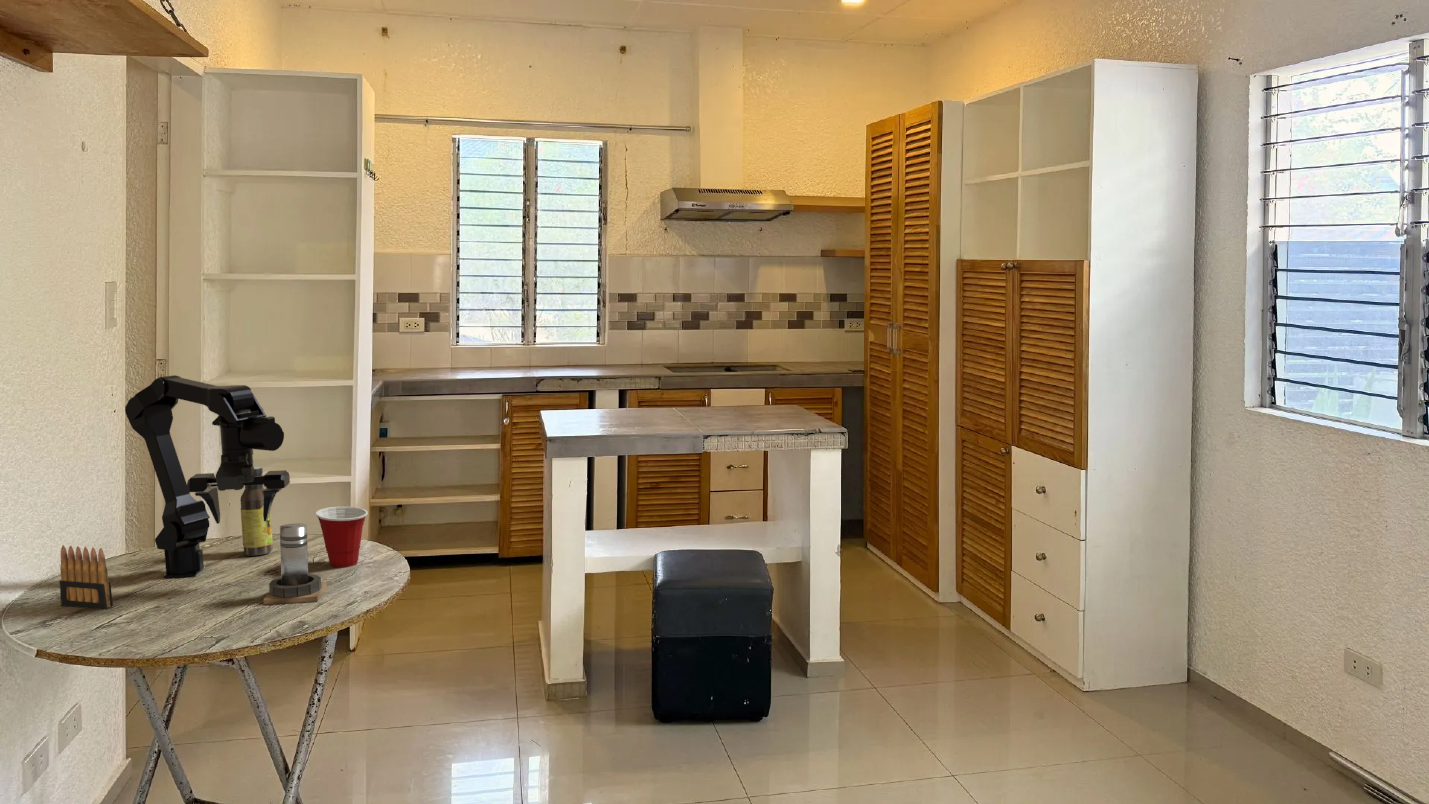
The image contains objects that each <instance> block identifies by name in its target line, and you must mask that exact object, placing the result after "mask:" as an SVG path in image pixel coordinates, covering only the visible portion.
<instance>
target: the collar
mask: <svg viewBox="0 0 1429 804" xmlns="http://www.w3.org/2000/svg"><path fill="white" fill-rule="evenodd" d="M327 586H328V585H327V581H322V577H321V576H319V575H317V574H311V573H308V583H307V584H302V585H297V586H282V583H281V576H280V577H277V578H274V579H272V580H271V581H270V582H269V583H268V587H269V592H268V593H267V595H266V596H265V597H264V598H263V605H278V604H279V605H280V604H281V605H282V604H293V603H294V604H296V603H297V604H298V603H311V602H312V603H313V602H314V603H315V602H319V600H320V598H321V596H322V595H323V593H324V592H325V590H326V589H327ZM323 591H324V592H323Z"/></svg>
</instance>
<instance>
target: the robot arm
mask: <svg viewBox="0 0 1429 804" xmlns="http://www.w3.org/2000/svg"><path fill="white" fill-rule="evenodd" d="M179 400H182V401H185V402H191V403H194V404H197V405H203V406H205V407H206V408H208V411H210V412H212V413H213V414H216V415H217V417H216V418H215V419H214V420H213V421H212V422H211V424H212V426H216V427H219V428H220V429H219V431H220V442H221V443H220V445H221V455H220V464H219V465H220V466H219V467H218V470H217V471H216V474H214V472H213V473H212V472H208V473H195V474H194V475H193V476H190V478H189V479H188V480H187V481H186V478H185V474H184V472H183V468H182V466H181V463H180V459H179V456H178V453H177V450H176V448H175V445H174V442H173V438H172V435H171V428H172V425H173V420H174V416H173V411H172V410H173V409H174V408H175V407H176V405H178V403H179ZM124 408H125V409H124V412H125V415H126V418H127V419H128V422H129V424H130V426H131V428H132V429H133V431H135V432H136V433H137V434H138V435H139V436H140V437H141V438H143V439H144V441H145V444H146V448H147V450H148V453H149V457H150V460H151V463H152V465H153V469H154V472H155V475H156V478H157V482H158V484H159V487H160V490H161V493H162V496H163V500H164V502H165V505H164V508H163V512H162V515H161V520H162V525H163V528H162V529H161V531H160V532H159V533H158V534H157V536H156V537H155V539H154V542H155V545H156V548H157V550H163V552H164V563H165V573H164V574H163V576H162V577H163V578H166V579H167V578H183V577H187V578H188V577H195V575H196V576H197V575H198V574H199V573H201V571H203V569H204V567H205V566H204V565H205V564H204V553H203V552H204V551H203V549H201V547H200V543H205V542H207V536H208V532H209V528H210V520H209V519H210V518H211V517H210V514H209V513H208V512H207V508H206V504H207V506H208V508H209V510H210V513H211V515H212V517H213V519H214V520H215V523H216V524H218V525H219V524H221V511H220V500H219V492H218V491H221V492H225V491H227V490H231V491H232V490H234V491H241V490H242V489H244V488H245V485H263V487H265V488H264V489H265V490H263V495H264V508H263V517H264V521H267V519H268V515H269V512H270V511H271V510H272V509H271V508H272V506H273V503H274V502H273V501H274V499H275V497H276V495H277V493H279V492H280V491H281V490H282V489H285V488H286V487H288V485H290V483H291V480H290V478H291V477H290V473H289V472H288V471H287V470H285V469H284V470H269V471H268V472H266V473H265V474H264V475H263V474H262V476H255V470H254V467H253V466H254V457H253V456H254V450H258V451H260V450H261V451H269V452H273V451H274V452H275V451H277V450H279V448H281V446H283V443H284V438H285V432H284V431H283V428H282V427H281V425H280V424H279V423H278V422H276V418H275V416H267V414H266V413H265V411H264V408H263V407H262V405H261V404H260V403H259V401H258V399H257V398H256V396H255V394H254V393H253V392H252V388H250V386H247V385H245V384H243V385H242V384H241V385H239V384H235V385H232V384H231V385H215V384H210V383H206V382H201V381H197V380H192V379H189V378H184V377H181V376H179V375H167V376H158V377H157V378H156V379H154V380H153V381H152V383H150V385H148V386H145V387H144V388H143V389H141V390H140V391H139V392H137V393H135V395H133V396H132V397H130V398H129V399H128V401H127V404H126V405H125V407H124ZM191 493H194V495H195V496H196V497H200V498H202V500H196V499H195V498H194V497H193V496H192V495H191ZM204 501H205V502H204Z"/></svg>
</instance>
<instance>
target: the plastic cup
mask: <svg viewBox="0 0 1429 804" xmlns="http://www.w3.org/2000/svg"><path fill="white" fill-rule="evenodd" d="M315 514H316V517H317V519H318V522H319V525H320V528H321V532H322V537H323V541H324V546H325V547H324V548H325V550H326V552H327V558H328V562H329V564H330V566H331V567H333V568H348V567H352V566H356V564H358V561H359V556H360V555H359V554H360V548H361V543H362V541H361V540H362V536H363V534H362V533H363V527H364V524H365V523H364V522H365V521H366V517H367V516H368V514H369V513H368V510H367V509H364V508H361V507H355V506H343V505H342V506H331V507H324V508H320V509H318V510H317V511H316V512H315Z"/></svg>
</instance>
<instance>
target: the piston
mask: <svg viewBox="0 0 1429 804" xmlns="http://www.w3.org/2000/svg"><path fill="white" fill-rule="evenodd" d="M307 530H308V527H307V524H306V523H297V522H296V523H287V524H283V525H280V526H279V544H280V545H279V546H280V549H279V551H280V575H281V576H280V577H281V583H282V586H297V585H302V584H307V583H308V574H309V565H308V563H309V562H308V561H309V560H308V559H309V557H308V531H307Z"/></svg>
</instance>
